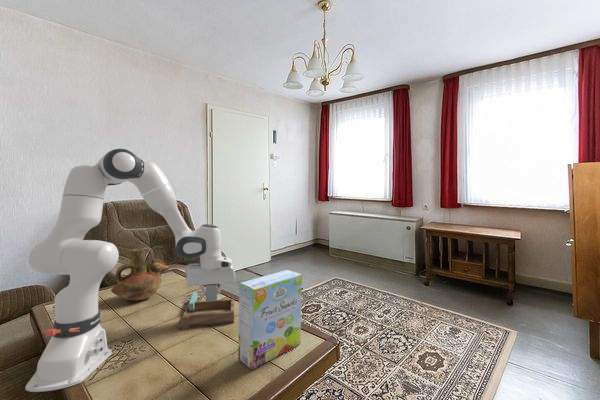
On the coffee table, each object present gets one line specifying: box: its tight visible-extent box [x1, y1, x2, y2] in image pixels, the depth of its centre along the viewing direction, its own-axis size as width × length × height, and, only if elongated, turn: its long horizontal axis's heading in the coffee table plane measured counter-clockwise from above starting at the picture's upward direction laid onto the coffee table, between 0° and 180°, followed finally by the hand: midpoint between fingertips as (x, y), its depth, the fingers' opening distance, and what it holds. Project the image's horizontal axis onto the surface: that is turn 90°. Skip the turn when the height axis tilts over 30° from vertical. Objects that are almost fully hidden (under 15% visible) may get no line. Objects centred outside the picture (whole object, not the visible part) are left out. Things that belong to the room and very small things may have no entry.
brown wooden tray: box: [178, 297, 235, 331], centre depth 128 cm, size 30×21×4 cm
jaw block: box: [205, 284, 218, 302], centre depth 122 cm, size 4×4×8 cm
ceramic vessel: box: [110, 248, 171, 302], centre depth 142 cm, size 17×26×25 cm, turn 123°
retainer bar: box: [189, 291, 198, 311], centre depth 133 cm, size 14×2×3 cm, turn 13°
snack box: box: [237, 269, 303, 371], centre depth 96 cm, size 22×9×26 cm, turn 136°
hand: (211, 293), depth 122 cm, fingers closed on jaw block, 4 cm apart
